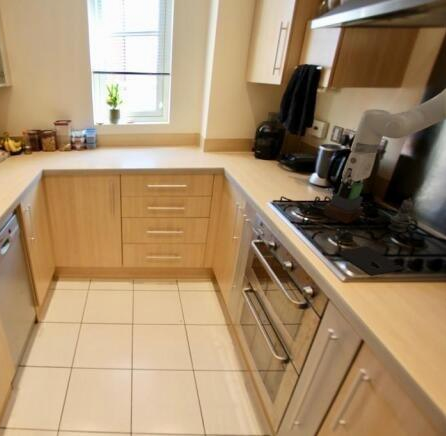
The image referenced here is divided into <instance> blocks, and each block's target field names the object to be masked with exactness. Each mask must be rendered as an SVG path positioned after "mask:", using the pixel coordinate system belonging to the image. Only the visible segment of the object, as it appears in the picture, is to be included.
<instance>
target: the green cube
mask: <svg viewBox="0 0 446 436" xmlns="http://www.w3.org/2000/svg"><path fill="white" fill-rule="evenodd" d="M347 182H349V184H350V182H351V181H348V180H347ZM363 186H364V184H363V183H362V184H360V183H357V182H354V183H353V185H352V187H351V188H352V190H351V193H350V196H349V198H347V199H350V200H352V199H354V198H357V197H359V196H361V192H362V189H363ZM341 188H342V182H341V183H340V185H339V187H338V192H337V193H338V195H339V194H340V191H341Z"/></svg>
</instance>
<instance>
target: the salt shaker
mask: <svg viewBox="0 0 446 436" xmlns="http://www.w3.org/2000/svg"><path fill="white" fill-rule="evenodd" d="M414 206H415V202H414V200H412V197H409V198H408V199H403V201H402V203H401V205H400V207H398V212H397V214H396V215H391V216H390V224H388V225H387V228H389V229H390V230H392V231H395V232H399V233H404V232H407V227H408V226H409V225H411V224H412V222H413V221H412V220H411V219H410V218H409V217H410V214H411V213H412V212H413V210H412V209H413V207H414Z"/></svg>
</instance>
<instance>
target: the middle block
mask: <svg viewBox="0 0 446 436" xmlns="http://www.w3.org/2000/svg"><path fill="white" fill-rule="evenodd" d="M363 199H364V197H363V196H362V195H359V197H357V198H354V199H352V200H350V199H347V198H344V197H341V196H339V195H338V192H337V193H334V194H332V196H331V200H330V202H331V203H330V202H329V203H330V204H331V205H333V206H336V207H339V208H342V209H344V210H347V211H351V210H353V209H356V208H358V207H360V206H361V204H362V202H363Z"/></svg>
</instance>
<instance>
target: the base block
mask: <svg viewBox="0 0 446 436" xmlns="http://www.w3.org/2000/svg"><path fill="white" fill-rule="evenodd" d="M330 203H331V201H330V202H327V203H325V205H324V208H323V211H322V215H324V216H325V217H327V218H331V219H333V220H336V221H338V222H341V223H344V224H349V223H351V222H353V221H356V220H359V219H360V218H361V216H362V215H363V214H362V213H363V211H364V208H365V207H364V206H361V205H360V207H358V208H356V209H353V210H351V211H347V210H344V209H342V208H339V207H336V206H333V205H331V204H330Z"/></svg>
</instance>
